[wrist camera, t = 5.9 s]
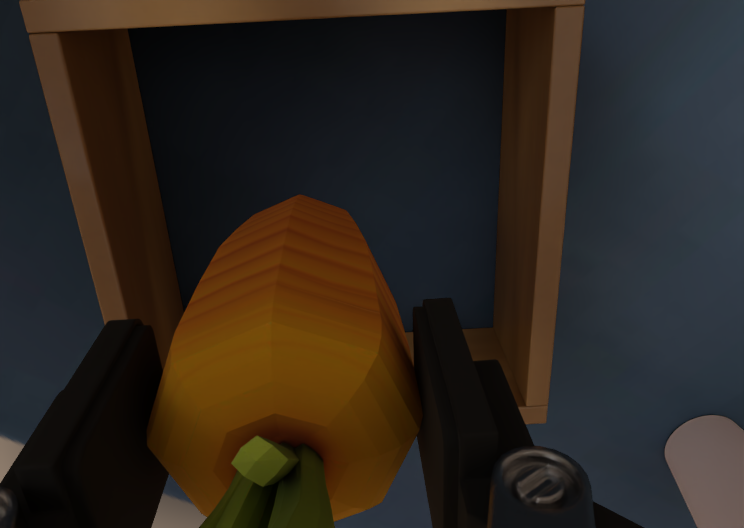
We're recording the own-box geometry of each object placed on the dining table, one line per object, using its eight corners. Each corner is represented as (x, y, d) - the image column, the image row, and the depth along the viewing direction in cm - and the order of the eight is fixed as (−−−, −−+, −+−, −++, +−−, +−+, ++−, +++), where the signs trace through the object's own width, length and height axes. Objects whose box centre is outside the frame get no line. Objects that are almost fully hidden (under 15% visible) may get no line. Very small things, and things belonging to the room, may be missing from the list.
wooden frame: (175, 360, 27) (136, 448, 22) (97, -6, 21) (17, 0, 16) (510, 341, 27) (546, 423, 22) (531, -28, 21) (589, -29, 16)
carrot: (314, 307, 22) (283, 865, 8) (199, 218, 20) (-77, 735, 7) (414, 209, 20) (573, 687, 7) (300, 105, 19) (211, 467, 5)
